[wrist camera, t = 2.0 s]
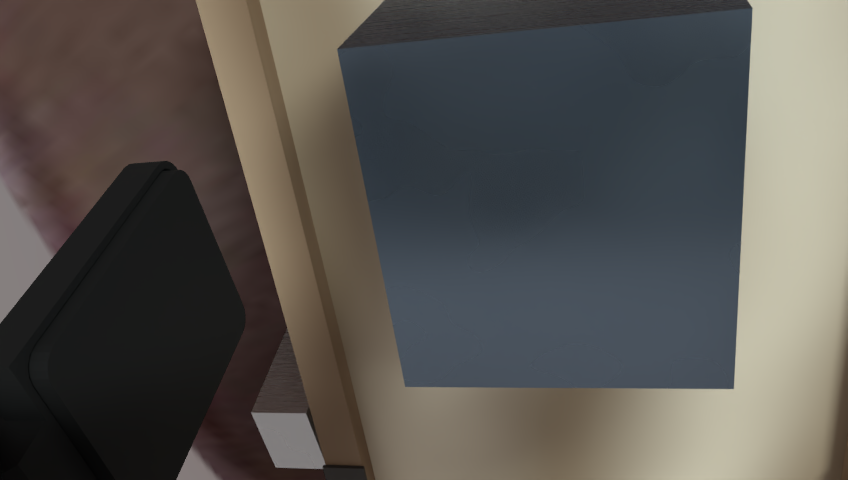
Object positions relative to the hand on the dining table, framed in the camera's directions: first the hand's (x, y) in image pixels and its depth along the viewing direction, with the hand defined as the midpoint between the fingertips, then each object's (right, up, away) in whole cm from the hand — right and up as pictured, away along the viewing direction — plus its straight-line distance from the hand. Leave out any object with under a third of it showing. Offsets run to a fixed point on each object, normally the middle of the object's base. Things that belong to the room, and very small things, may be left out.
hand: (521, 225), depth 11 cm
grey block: (+1, +3, +4) cm, 5 cm away
